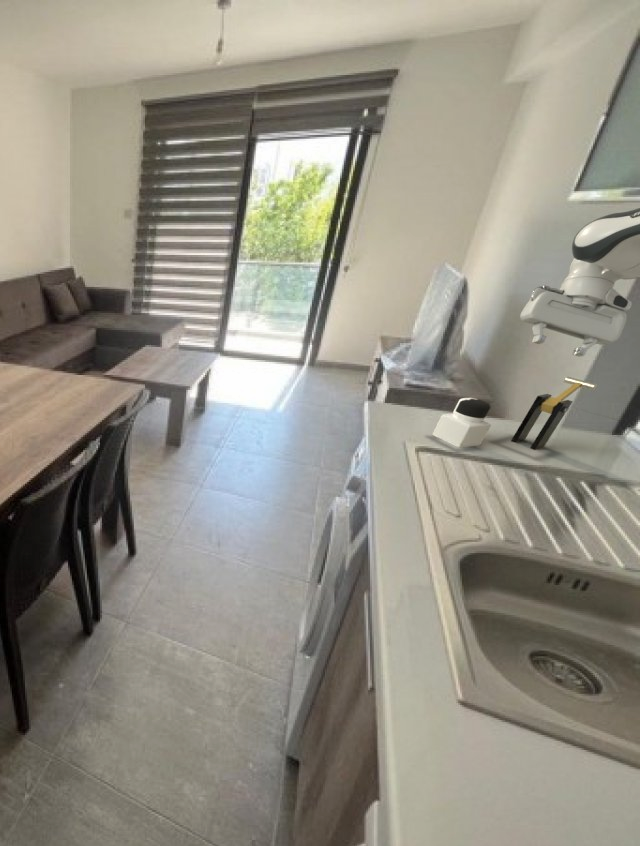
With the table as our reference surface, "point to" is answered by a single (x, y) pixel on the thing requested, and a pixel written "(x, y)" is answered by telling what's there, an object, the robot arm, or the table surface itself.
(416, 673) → the table surface
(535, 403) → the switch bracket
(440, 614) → the table surface
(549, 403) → the switch lever
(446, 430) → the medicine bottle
